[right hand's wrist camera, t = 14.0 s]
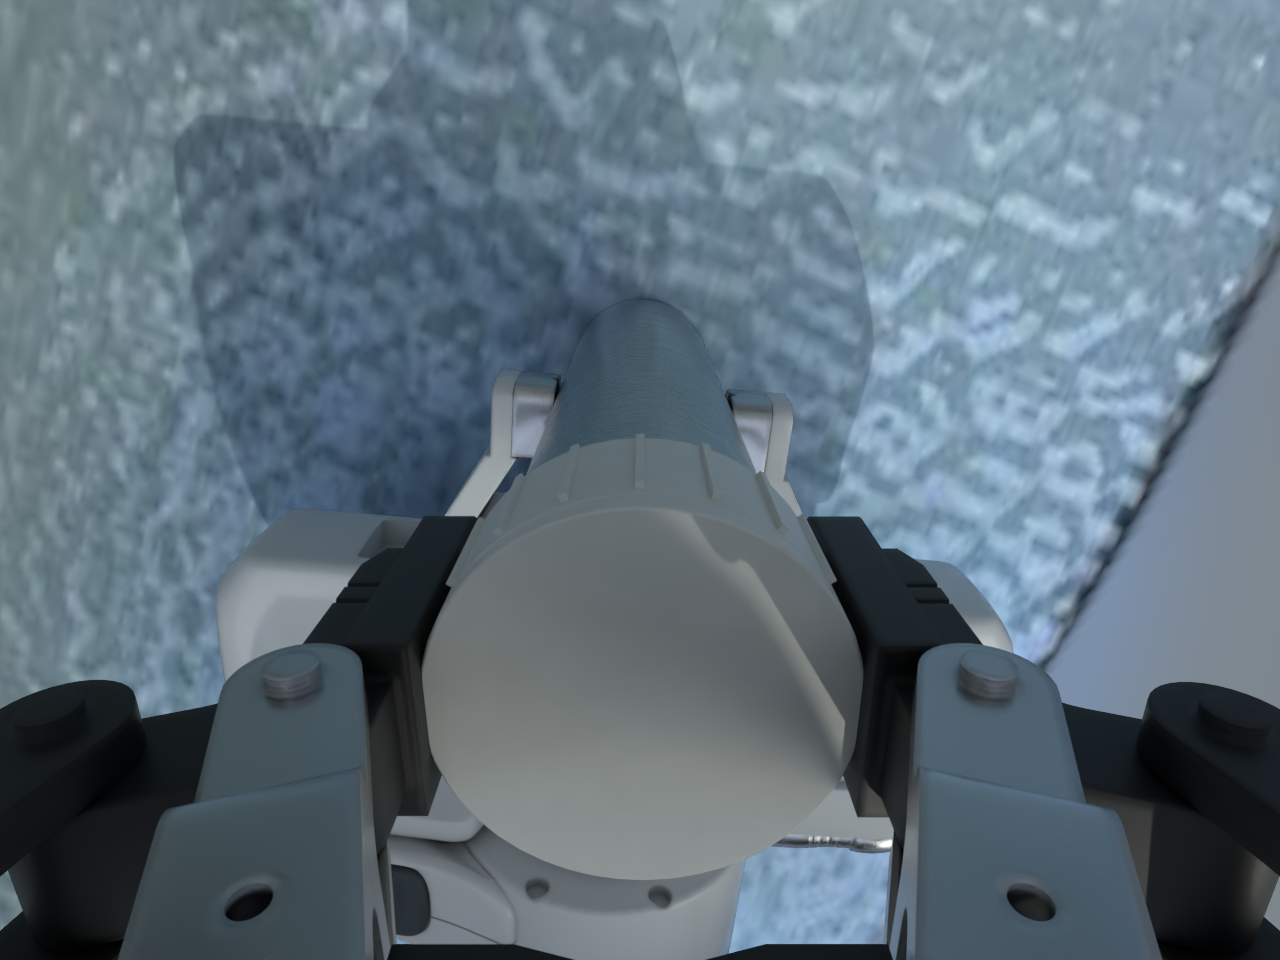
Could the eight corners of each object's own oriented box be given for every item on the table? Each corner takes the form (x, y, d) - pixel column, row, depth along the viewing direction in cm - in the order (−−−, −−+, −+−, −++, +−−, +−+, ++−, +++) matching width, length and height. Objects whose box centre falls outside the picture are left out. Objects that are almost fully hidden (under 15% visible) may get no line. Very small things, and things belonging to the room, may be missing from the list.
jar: (547, 355, 25) (378, 663, 9) (652, 270, 24) (675, 440, 8) (630, 453, 26) (615, 885, 10) (733, 376, 25) (899, 713, 9)
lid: (380, 579, 11) (312, 681, 8) (675, 349, 10) (684, 397, 7) (613, 808, 12) (608, 947, 10) (896, 631, 11) (959, 742, 9)
